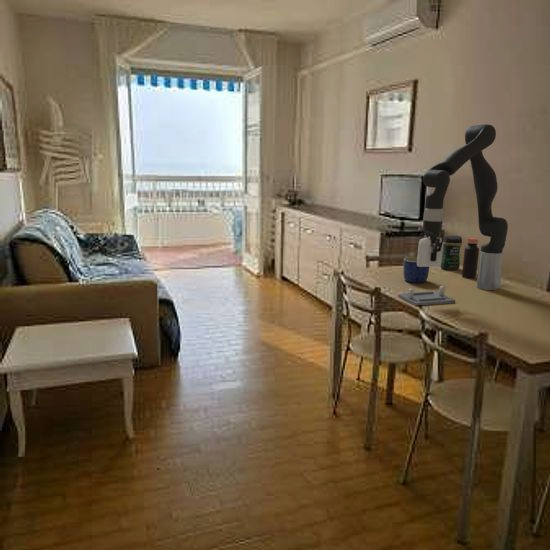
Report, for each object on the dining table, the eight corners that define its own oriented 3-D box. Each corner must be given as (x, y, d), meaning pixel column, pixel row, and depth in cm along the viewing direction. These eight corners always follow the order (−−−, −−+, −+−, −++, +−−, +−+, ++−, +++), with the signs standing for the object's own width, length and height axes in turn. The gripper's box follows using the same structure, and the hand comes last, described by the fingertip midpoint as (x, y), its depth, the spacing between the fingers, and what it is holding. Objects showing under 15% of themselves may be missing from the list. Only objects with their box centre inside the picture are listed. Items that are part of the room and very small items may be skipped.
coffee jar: (444, 270, 260) (447, 236, 256) (438, 267, 268) (441, 234, 263) (461, 270, 261) (464, 236, 256) (455, 267, 268) (458, 234, 264)
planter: (433, 283, 233) (435, 261, 231) (410, 284, 231) (411, 262, 228) (419, 277, 245) (421, 256, 243) (397, 278, 242) (399, 257, 240)
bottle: (459, 277, 246) (463, 238, 241) (464, 275, 251) (468, 237, 246) (473, 279, 241) (477, 240, 236) (478, 277, 246) (482, 238, 241)
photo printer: (438, 264, 206) (440, 236, 203) (442, 267, 202) (445, 237, 199) (415, 265, 204) (417, 236, 201) (419, 267, 200) (421, 238, 197)
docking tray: (436, 293, 215) (436, 282, 214) (455, 302, 202) (456, 290, 201) (398, 296, 210) (398, 285, 209) (415, 306, 197) (416, 293, 196)
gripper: (451, 221, 193) (447, 262, 197) (431, 217, 206) (427, 256, 210) (434, 221, 191) (431, 263, 195) (415, 217, 204) (412, 257, 208)
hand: (429, 259), depth 202 cm, fingers closed on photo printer, 4 cm apart
